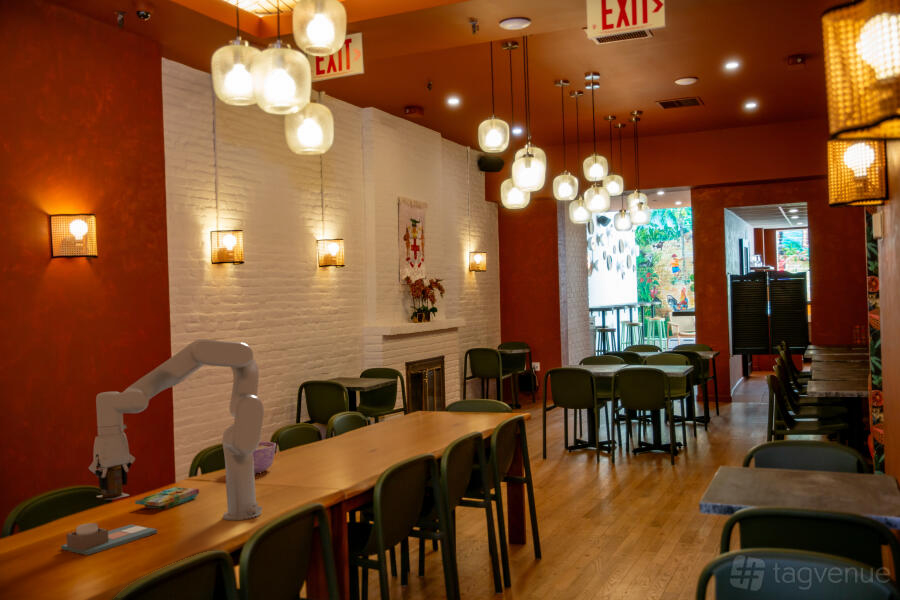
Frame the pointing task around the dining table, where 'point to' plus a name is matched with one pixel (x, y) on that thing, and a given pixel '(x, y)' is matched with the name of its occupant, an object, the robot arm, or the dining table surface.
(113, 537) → the board
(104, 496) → the condiment
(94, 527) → the dome
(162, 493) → the puzzle game
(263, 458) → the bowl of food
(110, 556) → the dining table surface
